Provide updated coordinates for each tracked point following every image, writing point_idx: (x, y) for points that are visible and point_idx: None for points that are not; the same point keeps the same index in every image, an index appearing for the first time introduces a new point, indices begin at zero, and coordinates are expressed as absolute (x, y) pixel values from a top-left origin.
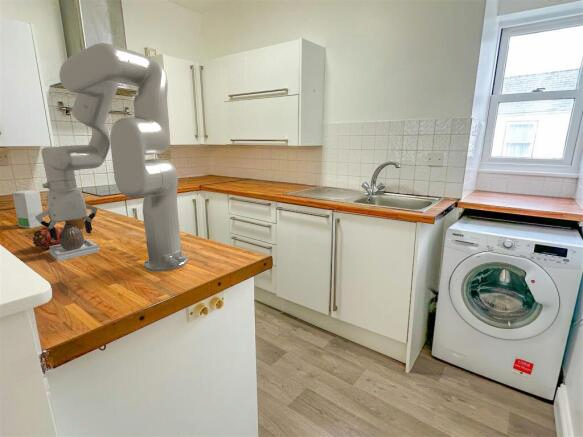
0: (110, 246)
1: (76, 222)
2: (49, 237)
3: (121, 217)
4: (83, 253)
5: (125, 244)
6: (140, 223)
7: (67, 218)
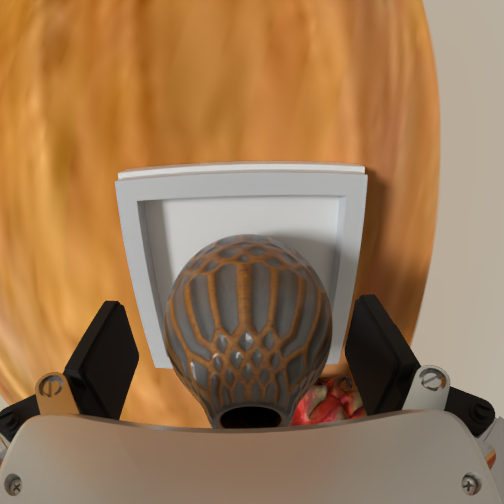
0: (71, 230)
1: None
2: (327, 414)
3: None
4: (216, 164)
5: (18, 210)
6: None
7: (292, 454)
